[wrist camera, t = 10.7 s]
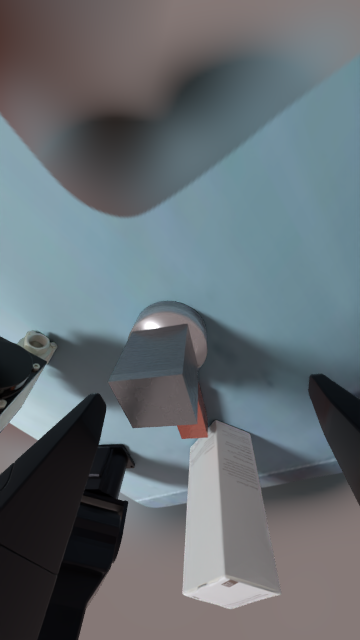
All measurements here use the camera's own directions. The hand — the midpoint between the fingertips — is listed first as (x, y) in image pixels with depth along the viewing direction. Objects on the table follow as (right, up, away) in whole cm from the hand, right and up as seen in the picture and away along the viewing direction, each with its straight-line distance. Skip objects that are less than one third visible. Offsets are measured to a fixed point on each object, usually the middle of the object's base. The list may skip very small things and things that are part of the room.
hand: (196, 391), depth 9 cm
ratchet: (0, -3, +17) cm, 17 cm away
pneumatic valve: (-17, 0, +16) cm, 24 cm away
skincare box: (+5, -14, +23) cm, 28 cm away
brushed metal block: (-2, 0, +11) cm, 12 cm away
